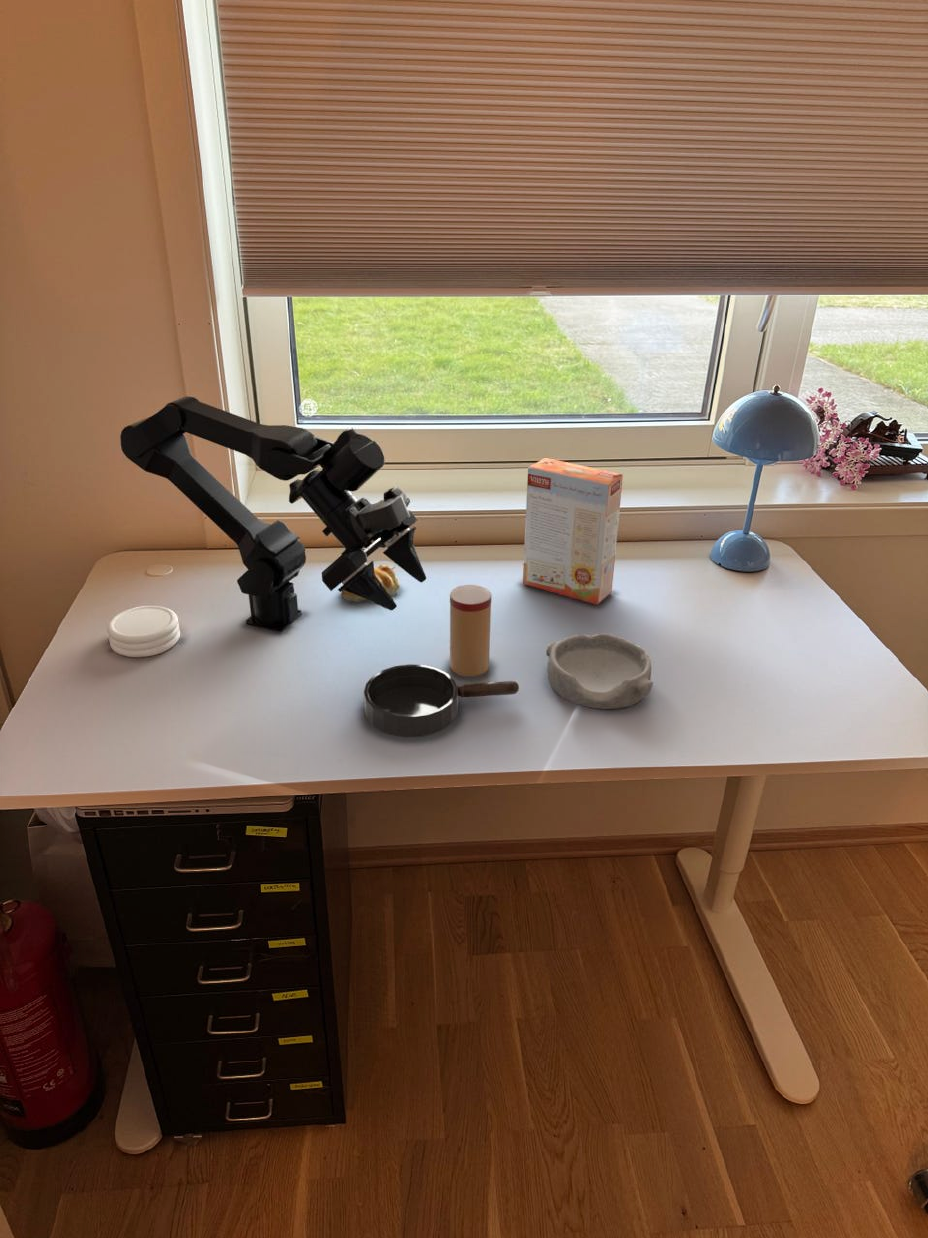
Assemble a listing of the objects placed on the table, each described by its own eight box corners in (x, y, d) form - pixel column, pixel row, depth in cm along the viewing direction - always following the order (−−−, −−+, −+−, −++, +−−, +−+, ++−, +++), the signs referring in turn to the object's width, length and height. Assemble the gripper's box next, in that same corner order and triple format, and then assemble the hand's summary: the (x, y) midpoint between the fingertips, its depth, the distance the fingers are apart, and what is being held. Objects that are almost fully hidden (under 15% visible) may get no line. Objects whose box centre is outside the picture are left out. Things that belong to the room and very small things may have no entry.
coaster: (132, 621, 143) (128, 601, 142) (192, 628, 142) (189, 608, 140) (97, 654, 135) (92, 633, 133) (160, 662, 133) (157, 641, 131)
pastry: (355, 609, 147) (354, 588, 145) (332, 594, 152) (331, 573, 150) (403, 592, 152) (403, 571, 151) (380, 577, 157) (379, 557, 155)
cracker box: (613, 592, 153) (625, 472, 143) (597, 607, 149) (608, 484, 138) (538, 571, 160) (544, 454, 149) (521, 584, 155) (526, 466, 145)
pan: (349, 726, 120) (347, 703, 119) (390, 678, 130) (389, 657, 128) (435, 749, 117) (435, 726, 115) (471, 698, 126) (471, 676, 125)
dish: (661, 710, 124) (666, 679, 122) (561, 719, 122) (563, 687, 120) (627, 653, 137) (631, 624, 134) (536, 660, 135) (537, 631, 132)
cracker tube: (449, 679, 130) (449, 604, 124) (449, 657, 135) (449, 584, 129) (490, 679, 130) (492, 604, 125) (488, 657, 135) (490, 584, 129)
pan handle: (457, 701, 122) (457, 689, 122) (455, 693, 124) (455, 682, 123) (519, 696, 123) (520, 685, 123) (517, 688, 125) (517, 677, 124)
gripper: (336, 500, 117) (415, 595, 119) (404, 454, 132) (473, 539, 134) (288, 545, 124) (364, 634, 126) (358, 497, 139) (425, 577, 140)
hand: (409, 594), depth 131 cm, fingers open, 9 cm apart
